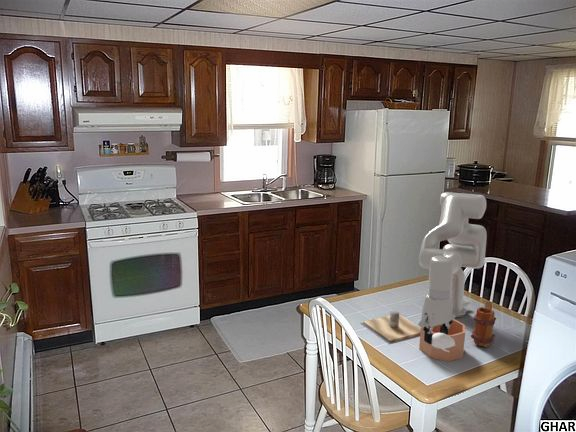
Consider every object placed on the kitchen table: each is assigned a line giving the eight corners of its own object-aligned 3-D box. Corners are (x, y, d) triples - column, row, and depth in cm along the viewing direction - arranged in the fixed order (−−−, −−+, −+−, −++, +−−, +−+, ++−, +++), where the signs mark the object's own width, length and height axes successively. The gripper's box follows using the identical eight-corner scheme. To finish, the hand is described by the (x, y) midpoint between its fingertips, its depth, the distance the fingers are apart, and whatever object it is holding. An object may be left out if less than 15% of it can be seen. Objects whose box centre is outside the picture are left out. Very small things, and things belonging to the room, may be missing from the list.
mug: (491, 351, 177) (495, 315, 174) (468, 346, 181) (472, 310, 178) (497, 336, 189) (501, 301, 186) (476, 330, 193) (479, 297, 190)
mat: (397, 315, 208) (397, 314, 207) (429, 334, 190) (429, 333, 190) (360, 324, 199) (360, 323, 199) (389, 345, 182) (389, 344, 182)
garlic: (457, 345, 160) (458, 335, 159) (450, 353, 155) (450, 343, 154) (435, 337, 165) (436, 328, 164) (427, 345, 160) (427, 335, 159)
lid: (397, 315, 206) (398, 301, 204) (425, 333, 190) (426, 317, 189) (363, 323, 199) (364, 308, 197) (389, 342, 183) (390, 326, 181)
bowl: (441, 336, 189) (443, 313, 186) (472, 354, 175) (474, 330, 173) (411, 344, 182) (412, 320, 180) (439, 364, 168) (442, 338, 166)
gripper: (450, 283, 165) (446, 329, 169) (411, 293, 157) (408, 340, 162) (467, 291, 158) (462, 339, 163) (427, 301, 151) (423, 351, 155)
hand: (435, 339), depth 162 cm, fingers closed on garlic, 6 cm apart
